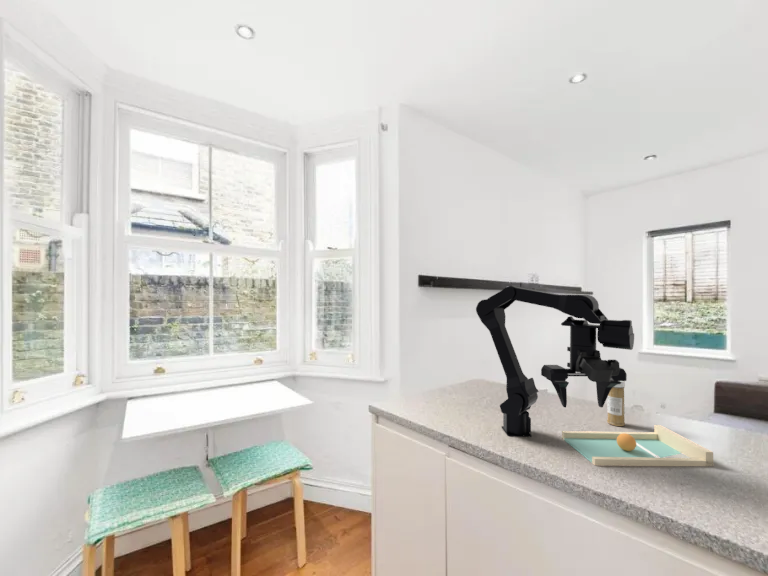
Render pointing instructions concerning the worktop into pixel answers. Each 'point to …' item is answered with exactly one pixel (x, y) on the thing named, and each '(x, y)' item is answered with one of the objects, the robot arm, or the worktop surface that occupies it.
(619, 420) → the sprinkles bottle
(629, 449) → the ball
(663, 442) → the lane
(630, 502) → the worktop surface
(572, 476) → the worktop surface
